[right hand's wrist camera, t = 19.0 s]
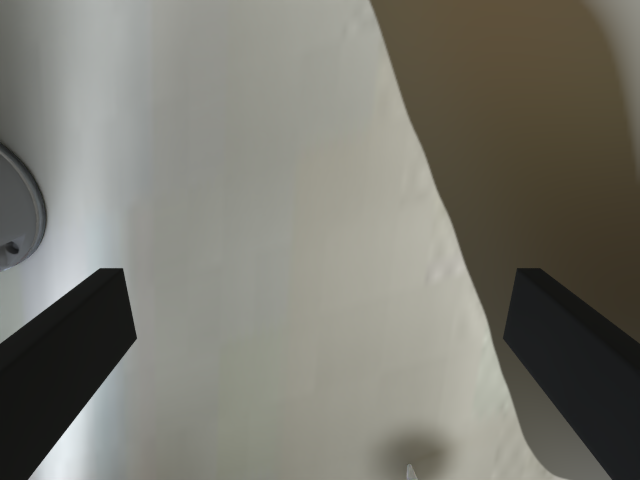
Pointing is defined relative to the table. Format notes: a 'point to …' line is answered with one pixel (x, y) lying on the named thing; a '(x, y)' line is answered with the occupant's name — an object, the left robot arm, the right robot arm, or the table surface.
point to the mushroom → (411, 473)
